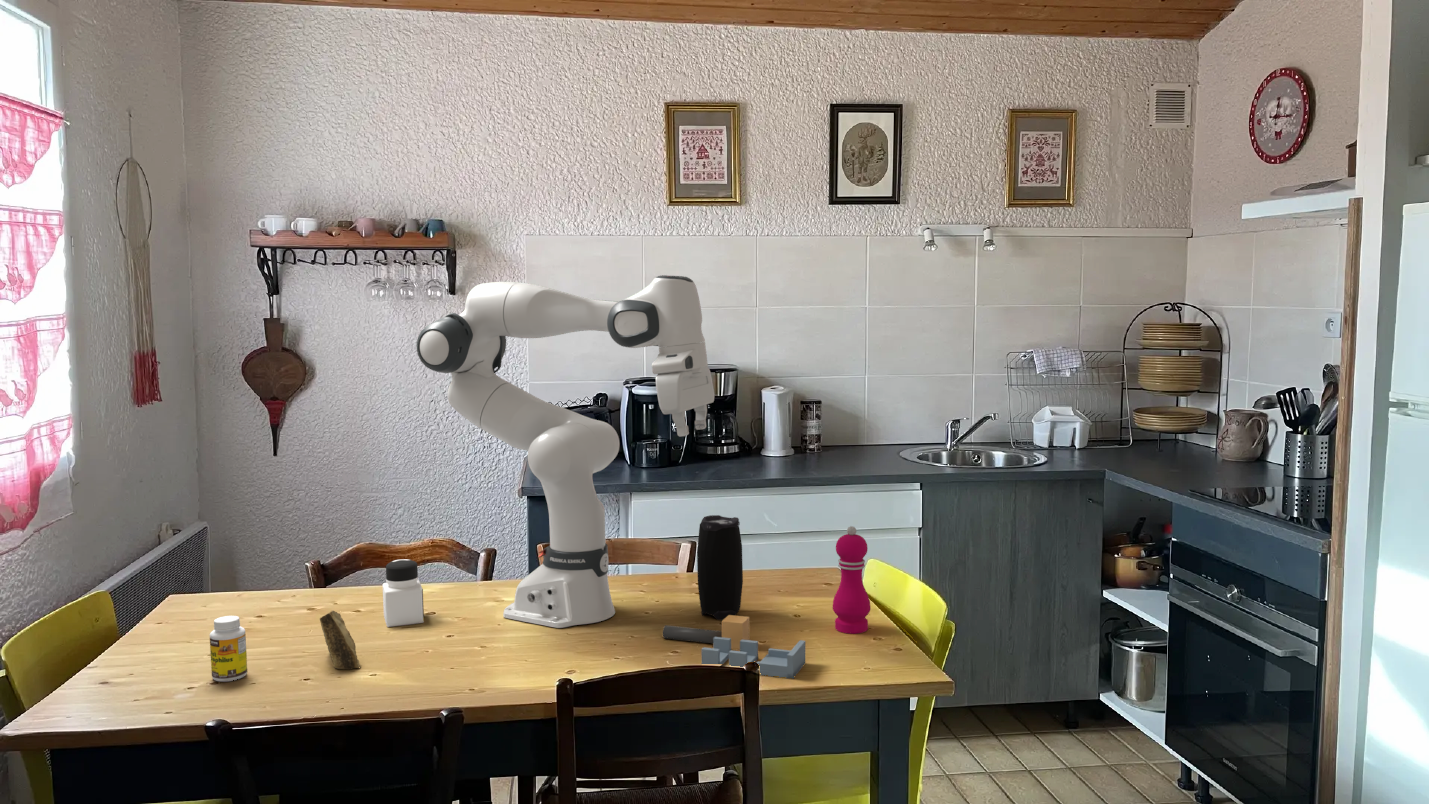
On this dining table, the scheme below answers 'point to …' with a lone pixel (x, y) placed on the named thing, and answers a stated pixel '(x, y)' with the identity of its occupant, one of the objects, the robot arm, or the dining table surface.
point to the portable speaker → (719, 566)
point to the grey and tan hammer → (713, 632)
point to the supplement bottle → (228, 649)
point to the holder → (783, 661)
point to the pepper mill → (851, 585)
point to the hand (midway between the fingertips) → (692, 432)
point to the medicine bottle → (402, 594)
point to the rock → (339, 641)
